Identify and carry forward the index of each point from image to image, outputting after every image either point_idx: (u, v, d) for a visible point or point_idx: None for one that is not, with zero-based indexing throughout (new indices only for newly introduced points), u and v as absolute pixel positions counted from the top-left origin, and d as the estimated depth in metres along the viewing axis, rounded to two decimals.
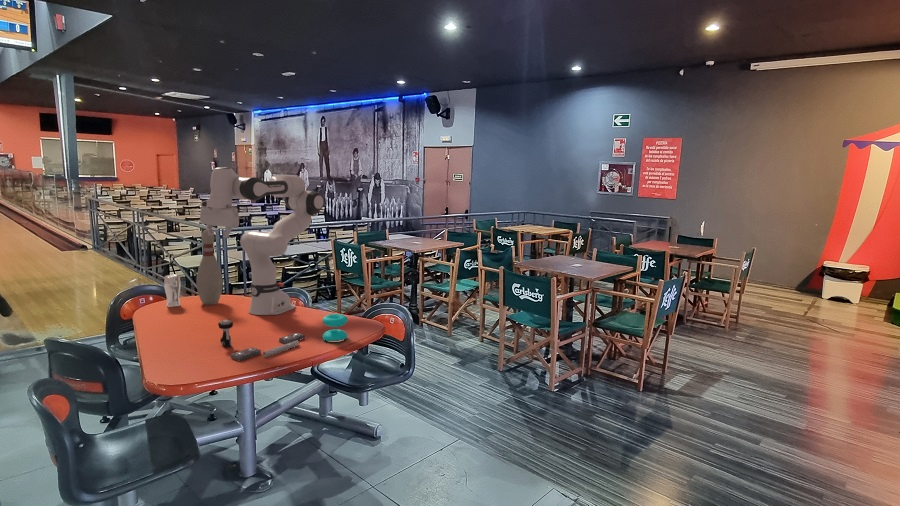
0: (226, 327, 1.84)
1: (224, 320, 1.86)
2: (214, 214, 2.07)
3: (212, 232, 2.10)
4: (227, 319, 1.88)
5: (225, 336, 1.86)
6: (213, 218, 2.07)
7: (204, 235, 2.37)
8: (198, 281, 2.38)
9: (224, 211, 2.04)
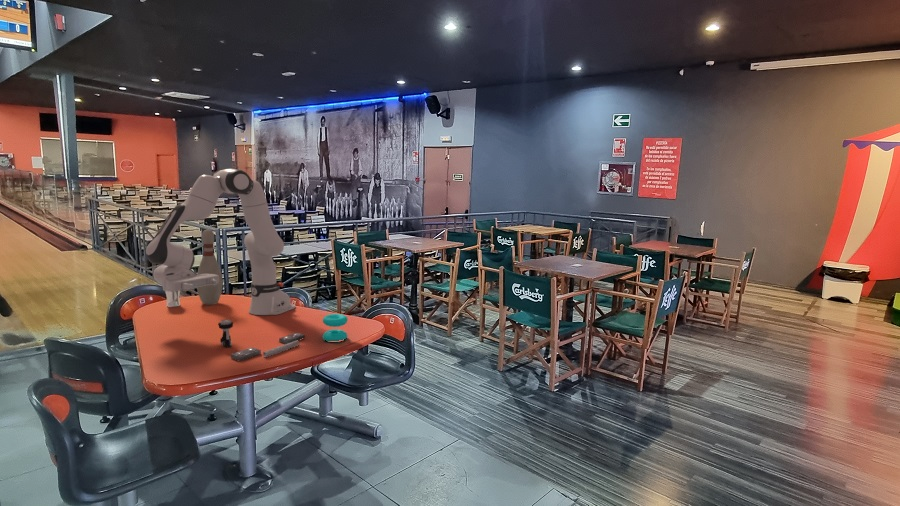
0: (226, 327, 1.84)
1: (224, 320, 1.86)
2: (187, 278, 1.93)
3: None
4: (227, 319, 1.88)
5: (225, 336, 1.86)
6: (189, 278, 1.92)
7: (204, 235, 2.37)
8: None
9: None
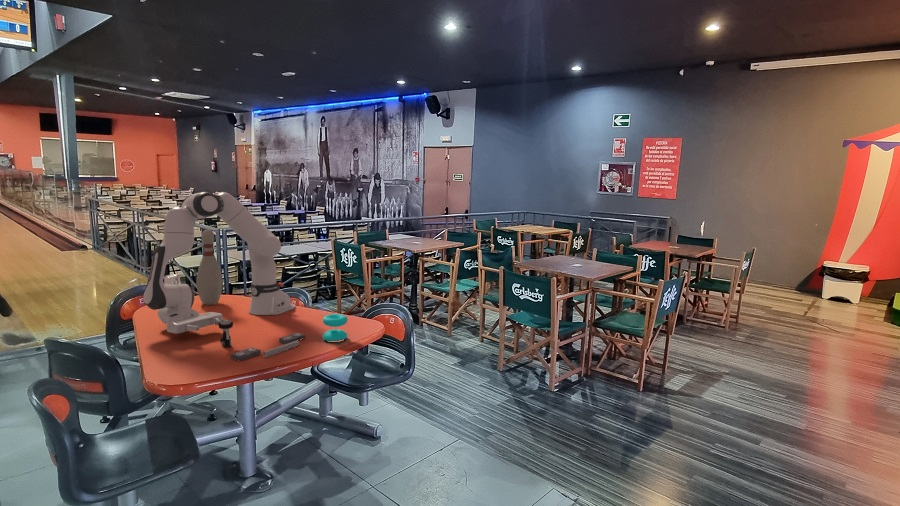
0: (226, 327, 1.84)
1: (224, 320, 1.86)
2: (190, 318, 1.94)
3: None
4: (227, 319, 1.88)
5: (225, 336, 1.86)
6: (193, 318, 1.93)
7: (204, 235, 2.37)
8: (198, 281, 2.38)
9: None
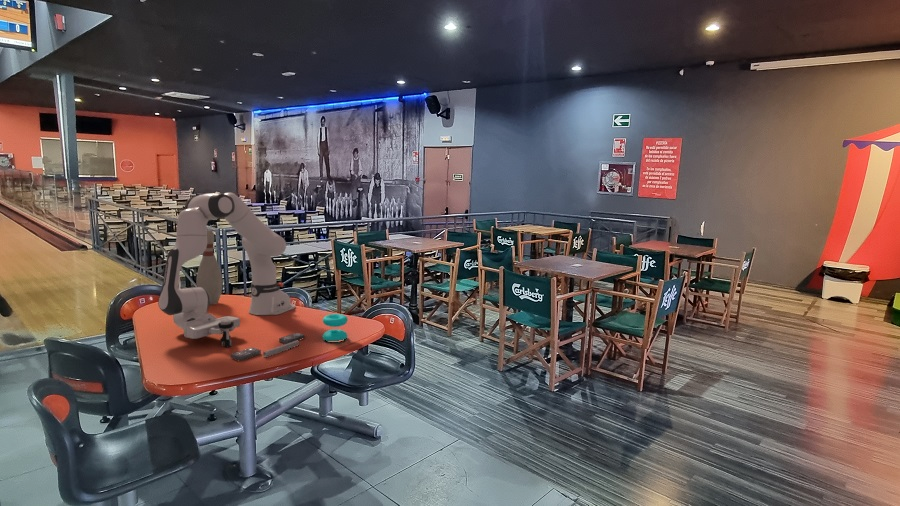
0: (226, 327, 1.84)
1: (224, 320, 1.86)
2: (208, 323, 1.90)
3: None
4: (227, 319, 1.88)
5: (225, 336, 1.86)
6: (210, 323, 1.89)
7: None
8: (198, 281, 2.38)
9: (219, 318, 1.96)
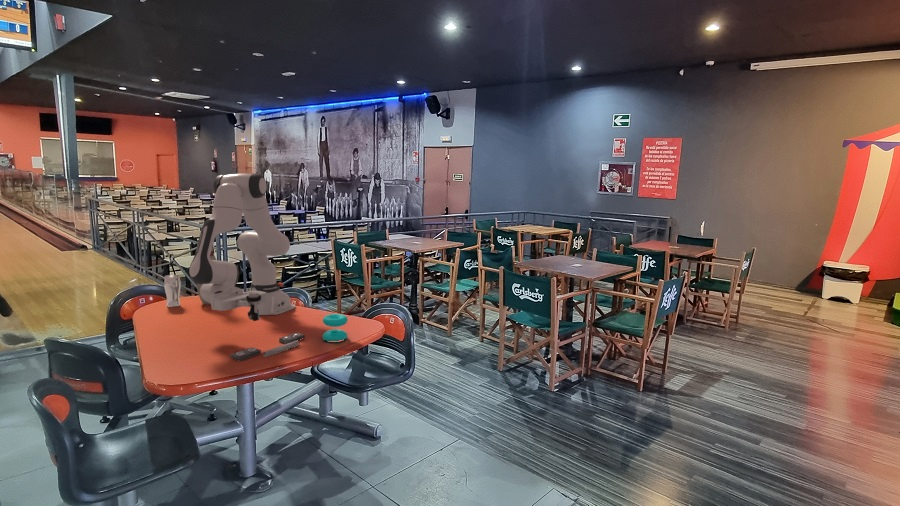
0: (254, 300, 1.81)
1: (252, 293, 1.83)
2: (235, 296, 1.86)
3: None
4: None
5: (253, 309, 1.82)
6: (238, 296, 1.85)
7: None
8: None
9: (246, 292, 1.92)
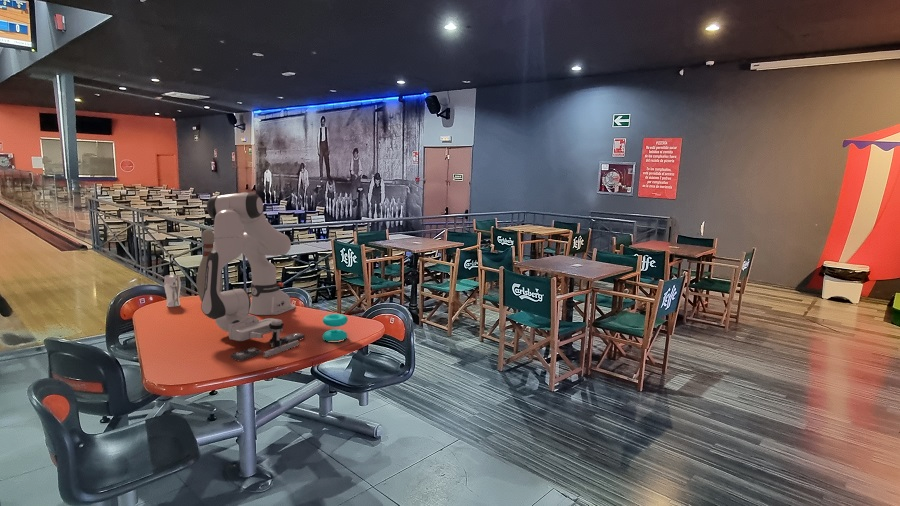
0: (277, 328, 1.86)
1: (275, 321, 1.88)
2: (252, 325, 1.89)
3: None
4: None
5: (275, 337, 1.87)
6: (255, 325, 1.88)
7: (204, 235, 2.37)
8: (198, 281, 2.38)
9: (262, 320, 1.95)
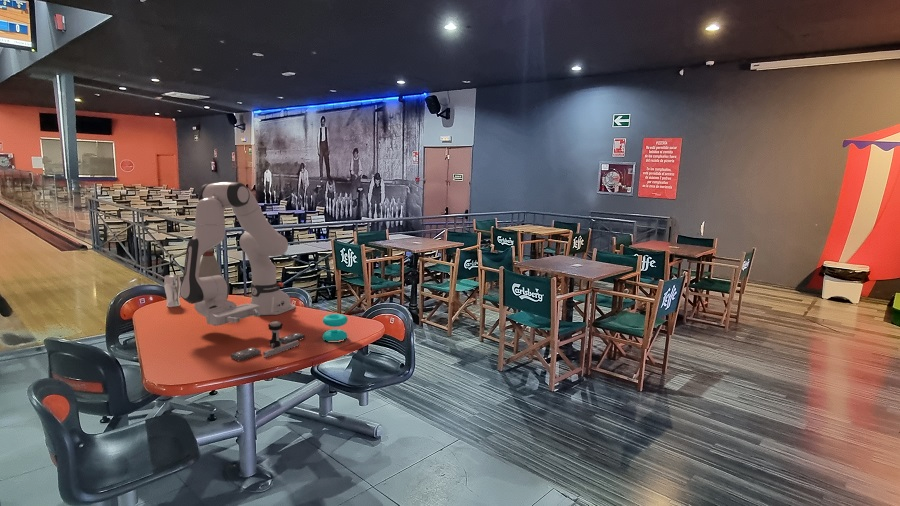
0: (277, 328, 1.85)
1: (274, 322, 1.87)
2: (229, 310, 1.94)
3: None
4: (276, 321, 1.89)
5: (275, 337, 1.87)
6: (232, 310, 1.93)
7: None
8: None
9: (240, 305, 2.00)
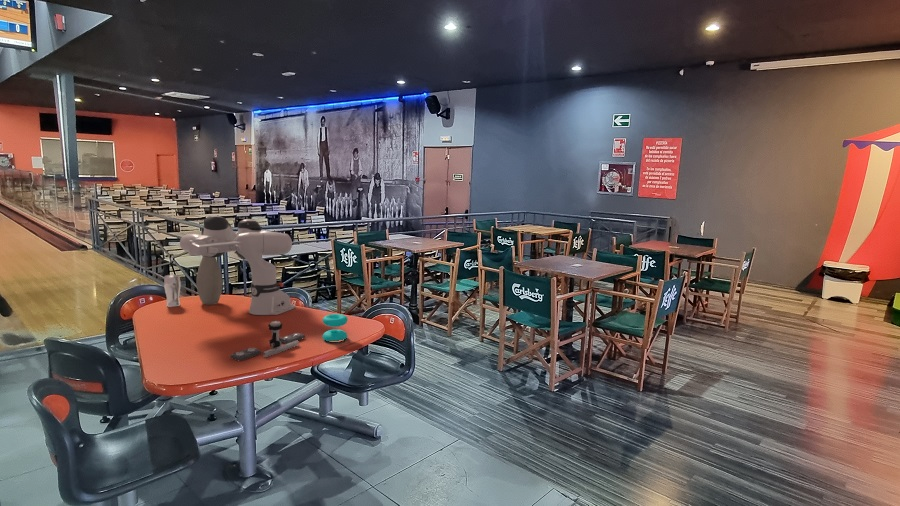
0: (277, 328, 1.85)
1: (274, 322, 1.87)
2: (211, 244, 2.02)
3: None
4: (276, 321, 1.89)
5: (275, 337, 1.87)
6: (214, 243, 2.01)
7: None
8: (198, 281, 2.38)
9: (222, 241, 2.08)
